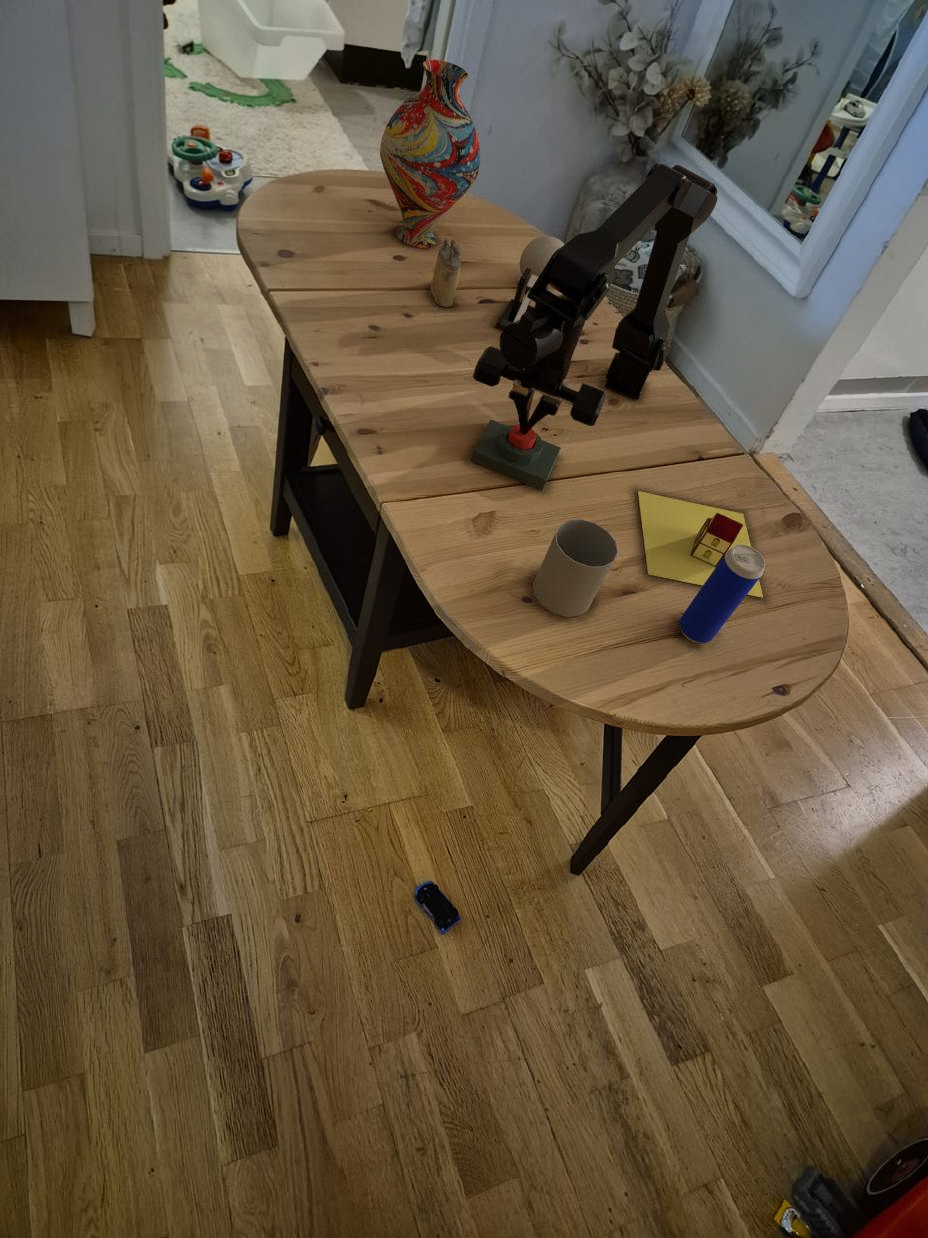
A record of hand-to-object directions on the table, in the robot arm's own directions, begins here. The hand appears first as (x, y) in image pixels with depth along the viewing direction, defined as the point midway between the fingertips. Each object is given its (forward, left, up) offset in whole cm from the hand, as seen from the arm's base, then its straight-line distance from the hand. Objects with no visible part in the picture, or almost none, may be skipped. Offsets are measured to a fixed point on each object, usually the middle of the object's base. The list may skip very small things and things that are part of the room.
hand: (523, 432), depth 120 cm
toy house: (-31, +2, -6) cm, 32 cm away
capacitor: (+26, -37, -6) cm, 46 cm away
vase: (+38, -55, -6) cm, 67 cm away
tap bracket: (+10, -39, -5) cm, 41 cm away
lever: (+10, -35, -1) cm, 37 cm away
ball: (+11, -54, -6) cm, 55 cm away
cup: (-14, +23, -6) cm, 28 cm away
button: (0, 0, -2) cm, 2 cm away
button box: (0, 0, -5) cm, 5 cm away
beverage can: (-33, +20, -6) cm, 39 cm away
